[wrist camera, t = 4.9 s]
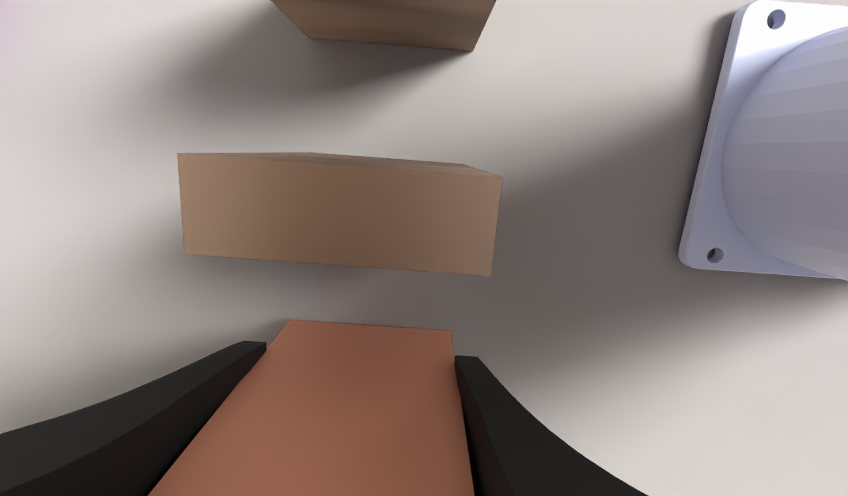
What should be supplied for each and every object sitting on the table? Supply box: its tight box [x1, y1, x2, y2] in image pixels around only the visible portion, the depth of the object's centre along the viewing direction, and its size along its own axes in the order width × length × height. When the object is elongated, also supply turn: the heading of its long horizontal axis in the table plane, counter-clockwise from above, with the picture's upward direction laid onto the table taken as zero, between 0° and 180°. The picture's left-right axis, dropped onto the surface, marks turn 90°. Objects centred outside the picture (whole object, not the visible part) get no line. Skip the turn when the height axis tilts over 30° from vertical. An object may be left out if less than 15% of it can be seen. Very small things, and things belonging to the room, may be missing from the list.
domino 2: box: [177, 153, 502, 276], centre depth 10 cm, size 5×2×7 cm, turn 86°
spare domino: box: [148, 320, 474, 496], centre depth 9 cm, size 5×2×7 cm, turn 86°
